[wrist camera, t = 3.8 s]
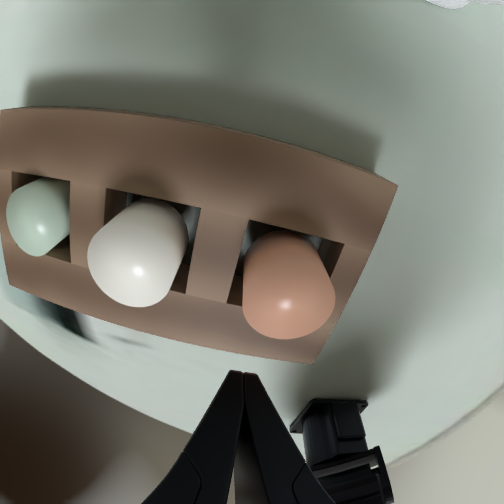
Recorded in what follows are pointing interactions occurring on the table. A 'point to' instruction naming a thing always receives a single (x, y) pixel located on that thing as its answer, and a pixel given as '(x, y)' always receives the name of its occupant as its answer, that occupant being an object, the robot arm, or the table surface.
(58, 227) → the button sage
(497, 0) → the jar
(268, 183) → the panel
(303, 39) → the table surface
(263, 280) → the button terracotta
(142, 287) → the button cream
